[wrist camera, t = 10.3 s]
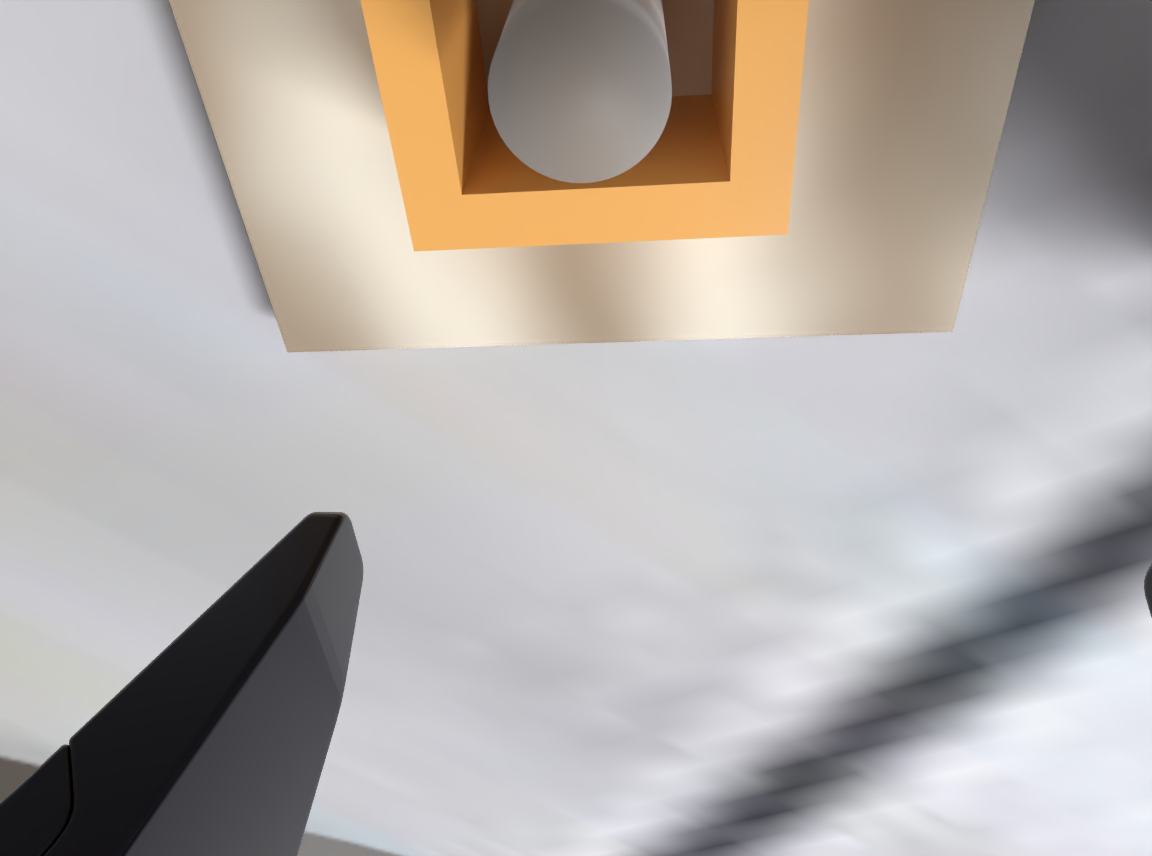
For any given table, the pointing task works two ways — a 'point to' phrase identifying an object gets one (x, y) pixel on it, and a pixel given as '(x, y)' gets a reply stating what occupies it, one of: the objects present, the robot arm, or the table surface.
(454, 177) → the orange square ring
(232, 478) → the table surface
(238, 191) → the post board
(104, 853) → the robot arm
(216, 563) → the table surface
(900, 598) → the table surface
